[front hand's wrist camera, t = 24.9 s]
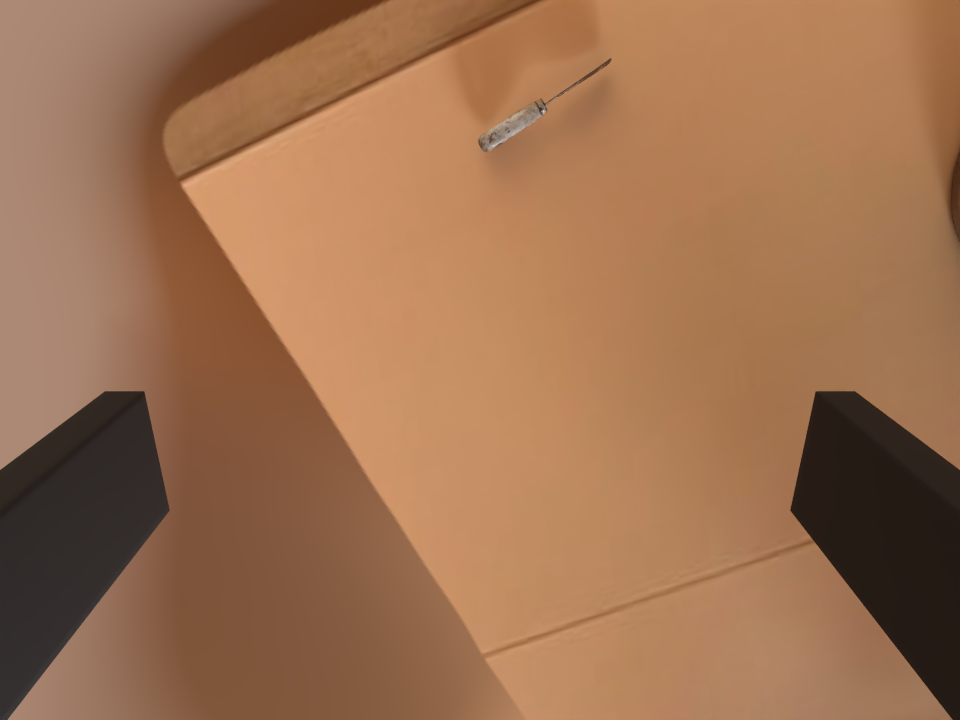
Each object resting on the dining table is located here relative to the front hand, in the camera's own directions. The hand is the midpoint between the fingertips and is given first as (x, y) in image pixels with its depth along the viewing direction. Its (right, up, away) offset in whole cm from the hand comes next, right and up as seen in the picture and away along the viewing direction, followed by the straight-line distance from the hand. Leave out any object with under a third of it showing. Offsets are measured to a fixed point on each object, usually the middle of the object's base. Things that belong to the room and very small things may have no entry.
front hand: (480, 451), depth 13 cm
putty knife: (+3, +16, +22) cm, 27 cm away
